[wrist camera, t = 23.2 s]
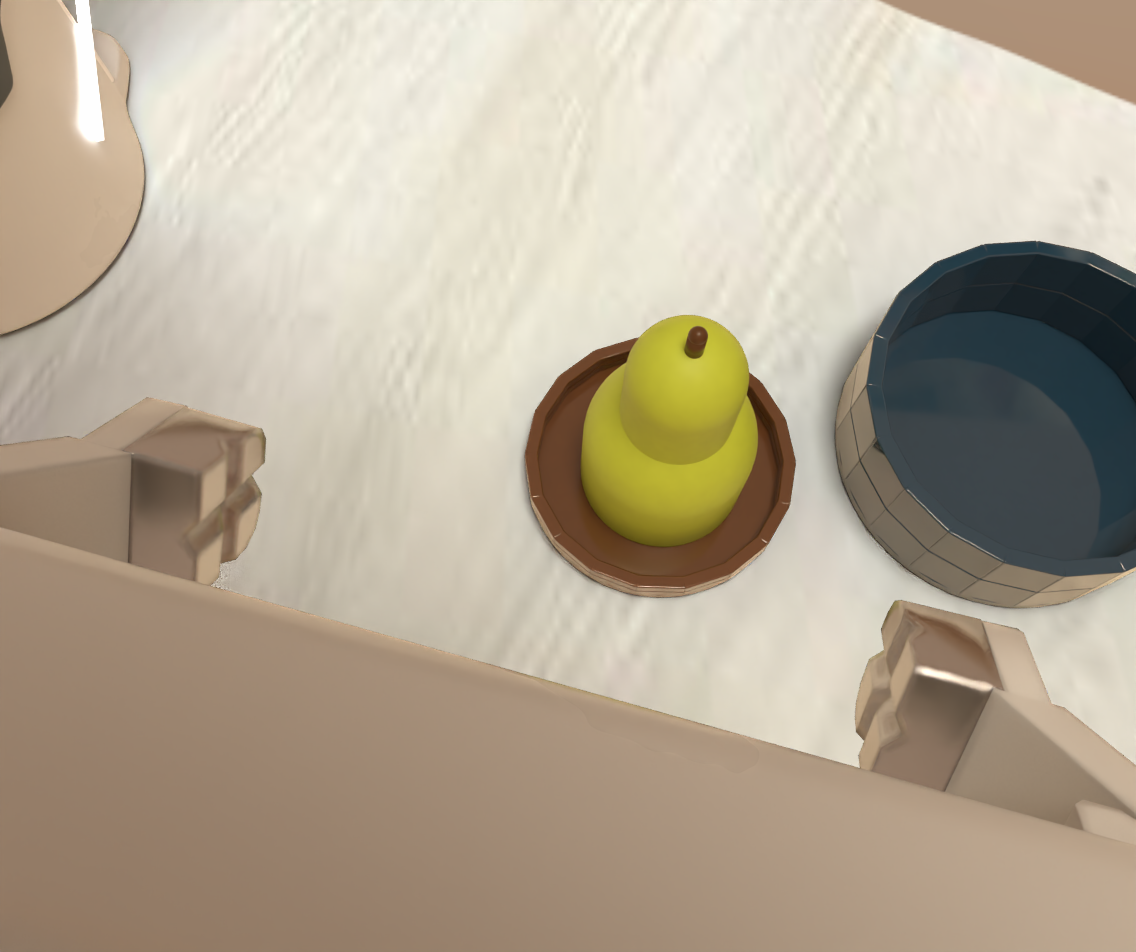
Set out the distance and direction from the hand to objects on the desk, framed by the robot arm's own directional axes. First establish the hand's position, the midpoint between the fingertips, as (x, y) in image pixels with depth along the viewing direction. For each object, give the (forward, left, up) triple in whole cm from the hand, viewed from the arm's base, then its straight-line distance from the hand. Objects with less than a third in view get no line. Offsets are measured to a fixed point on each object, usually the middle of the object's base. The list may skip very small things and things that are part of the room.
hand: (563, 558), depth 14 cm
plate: (-2, +12, -28) cm, 30 cm away
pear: (-2, +12, -27) cm, 30 cm away
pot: (+9, +20, -28) cm, 35 cm away
